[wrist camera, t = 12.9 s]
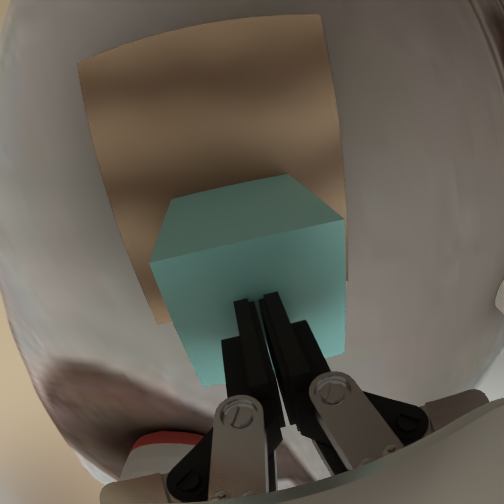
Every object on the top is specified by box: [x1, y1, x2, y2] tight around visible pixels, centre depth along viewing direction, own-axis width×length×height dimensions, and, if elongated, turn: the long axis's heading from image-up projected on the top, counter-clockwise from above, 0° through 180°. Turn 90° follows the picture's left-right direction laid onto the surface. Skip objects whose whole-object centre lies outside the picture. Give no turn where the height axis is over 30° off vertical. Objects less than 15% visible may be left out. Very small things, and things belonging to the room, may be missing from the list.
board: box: [77, 14, 348, 324], centre depth 17 cm, size 18×14×2 cm
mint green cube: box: [149, 174, 346, 387], centre depth 15 cm, size 7×7×8 cm
